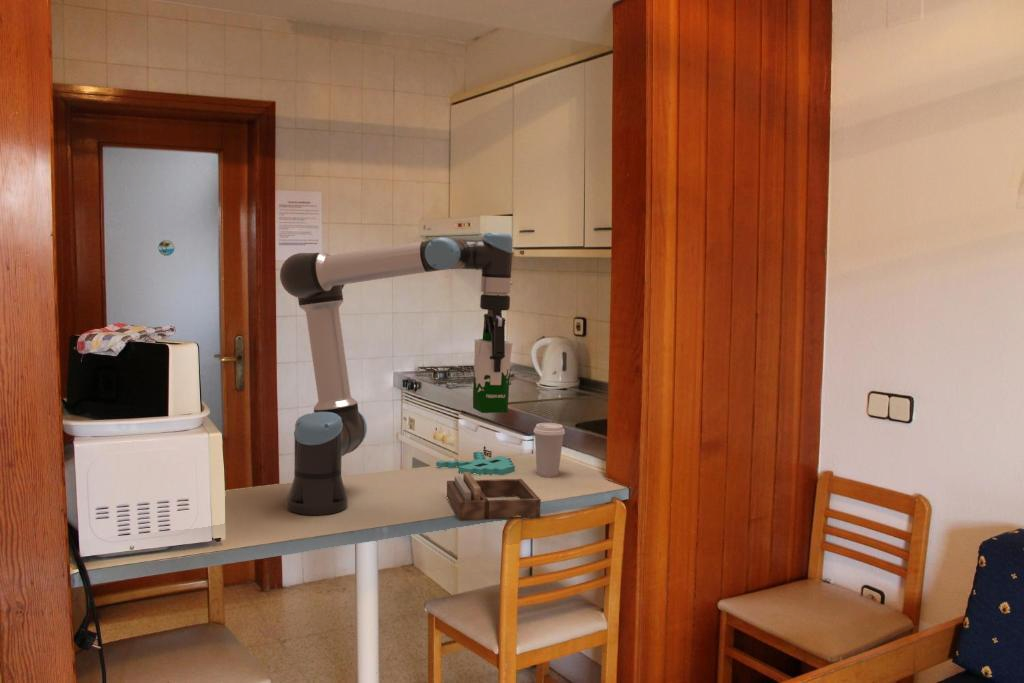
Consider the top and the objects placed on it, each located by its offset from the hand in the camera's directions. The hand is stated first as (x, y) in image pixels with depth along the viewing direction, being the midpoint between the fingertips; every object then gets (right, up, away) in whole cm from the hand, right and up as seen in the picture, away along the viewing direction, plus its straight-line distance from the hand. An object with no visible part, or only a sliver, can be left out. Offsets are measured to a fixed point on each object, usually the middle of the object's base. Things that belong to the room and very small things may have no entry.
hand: (491, 381), depth 224 cm
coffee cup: (+16, -30, +39) cm, 52 cm away
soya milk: (0, -8, +1) cm, 8 cm away
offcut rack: (0, -33, +4) cm, 33 cm away
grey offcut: (-8, -33, +2) cm, 34 cm away
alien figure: (-4, -29, +45) cm, 54 cm away
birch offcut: (-5, -33, +2) cm, 33 cm away
